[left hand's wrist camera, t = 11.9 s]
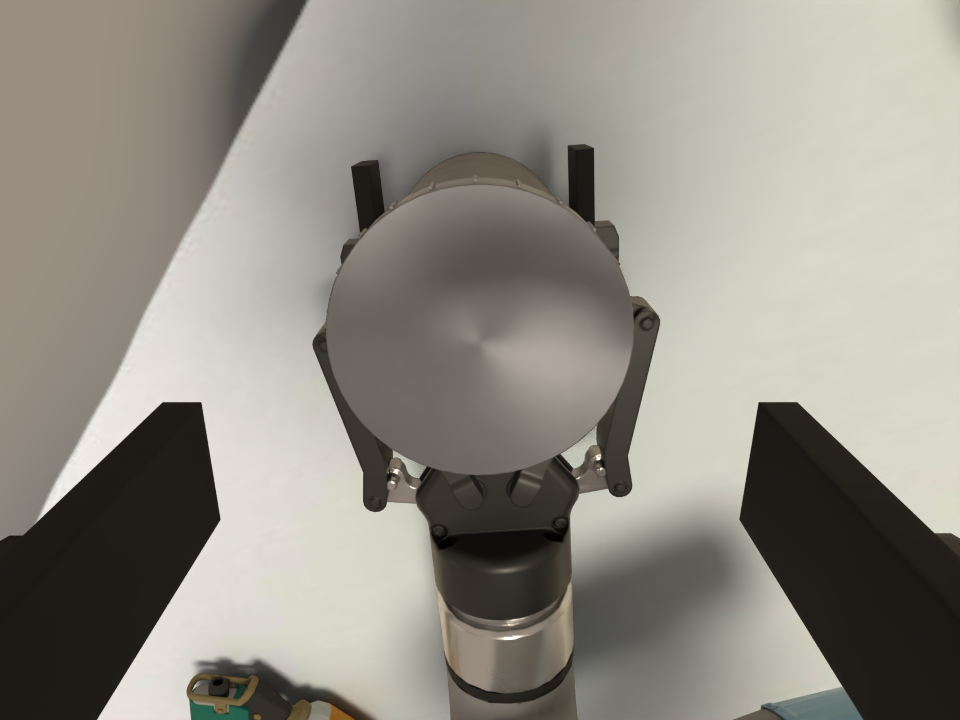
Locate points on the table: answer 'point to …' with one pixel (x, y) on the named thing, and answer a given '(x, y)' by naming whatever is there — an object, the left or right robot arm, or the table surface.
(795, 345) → the table surface
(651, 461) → the table surface
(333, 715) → the spray gun
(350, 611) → the table surface
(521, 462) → the lid
